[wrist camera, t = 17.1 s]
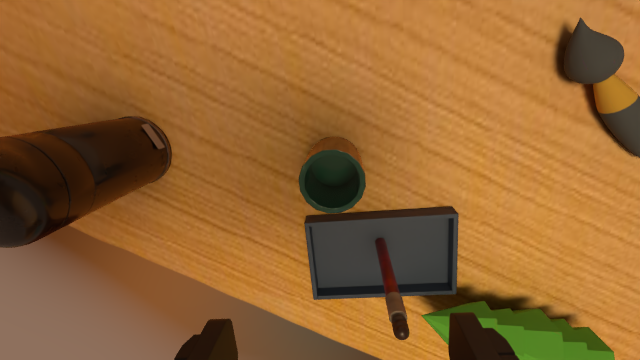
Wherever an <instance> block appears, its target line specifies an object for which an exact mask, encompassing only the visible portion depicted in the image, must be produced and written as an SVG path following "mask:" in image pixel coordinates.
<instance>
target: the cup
mask: <svg viewBox="0 0 640 360" xmlns="http://www.w3.org/2000/svg"><path fill="white" fill-rule="evenodd" d="M299 186H300V192H301V193H302V195H303V197H304V199H305V200H306V202H307V203H308V204H310V205H311V206H312V207H313V208H315V209H316V210H319V211H322V212H325V213H341V212H344V211H346V210H348V209H350V208H352V207H353V206H354V205H355V204H356V203H357V202H358V201H359V200H360V199H361V198H362V195H363V192H364V190H365V187H366V183H365V172H364V168H363V164H362V160H361V156H360V154H359V152H358V150H357V148H356V147H355V146H354V145H353V144H352V143H351V142H350V141H348V140H346V139H344V138H341V137H327V138H324V139H322V140H320V141H319V142H317V143H316V144H315V145H314V146H313V148H312V149H311V150H310V152H309V154H308V156H307V158H306V160H305V162H304V164H303V166H302V169H301V172H300V175H299Z"/></svg>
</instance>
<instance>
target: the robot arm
mask: <svg viewBox="0 0 640 360" xmlns="http://www.w3.org/2000/svg"><path fill="white" fill-rule="evenodd" d="M170 161H171V150H170V146H169V143H168V141H167V138H166V137H165V135H164V134H163V132H162V131H161V130H160V129H159V128H158V127H157V126H156V125H155V124H153V123H152V122H150V121H148V120H146V119H144V118H140V117H133V116H131V117H123V118H119V119H115V120H108V121H101V122H95V123H88V124H82V125H75V126H69V127H62V128H56V129H49V130H43V131H37V132H31V133H25V134H18V135H12V136H5V137H0V247H5V248H10V247H11V248H12V247H18V246H23V245H27V244H30V243H32V242H35V241H37V240H39V239H41V238H43V237H45V236H47V235H49V234H51V233H52V232H54V231H56V230H58V229H60V228H62V227H64V226H66V225H68V224H70V223H72V222H74V221H76V220H78V219H80V218H82V217H84V216H85V215H87V214H89V213H91V212H93V211H95V210H97V209H99V208H101V207H103V206H105V205H107V204H109V203H111V202H113V201H115V200H117V199H119V198H121V197H123V196H125V195H127V194H129V193H131V192H133V191H135V190H137V189H139V188H141V187H143V186H145V185H147V184H148V183H152V182H154V181H156V180H158V179H159V178H161V177H162V176H163V175H164V174H165V173H166V171H167V170H168V168H169V165H170ZM449 357H450V360H520V359H519V358H518V356H517V355H515V352H514V350H513V349H512V347H511V346H510V344H509V343H508V341H507V339H505V338H504V337H503V336H502V335H501V334H499V333H498V332H497V331H496V330H495V329H493V328H483V327H482V325H481V323H480V322H479V320H478V318H477V317H476V315H475V314H474V313H473V312H464V313H451V314H450V318H449ZM174 360H238V351H237V346H236V341H235V336H234V330H233V325H232V321H231V320H230V319H210V320H209V321H208V322H207V323H206V325H205V327H204V329H203V331H202V332H201V334H200V335H193V336H192V337H191V338H190V339H189V340H188V341H187V342H186V343H185V344H184V345H182V347H181V349H180V350H179V352H178V353H177V355H176V357H175V359H174Z"/></svg>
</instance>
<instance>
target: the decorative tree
mask: <svg viewBox="0 0 640 360" xmlns="http://www.w3.org/2000/svg"><path fill="white" fill-rule="evenodd" d="M464 312H473V313H474V314H475V315H476V317H477V318H478V320H479V322H480V323H481V325H482V327H483V328H493V329H495V330H496V331H497V332H498V333H499V334H501V335H502V336H503V337H504V338H505V339H507V341H508V343H509V344H510V346H511V347H512V349H513V350H514V352H515V355H517V356H518V358H519V359H520V360H615V358H614V352H613V351H612V350H611V349H610V348H609V347H608V346H607V345H606V344H605V343H604V342H603V341H602V340H601V339H600V338H599V337H598V336H597V335H596V334H595V333H594V332H593V331H592V330H591V329H590V328H589V327H571V326H570V325H569V324H568V323H567V322H566V321H565V320H564V319H549V318H548V317H547V316H546V315H545V314H544V313H543V312H542V311H541V309H524V310H514V311H512V310H511V309H510V308H507V309H497V310H491V309H490V308H489V307H488V305H487V304H486V302H485V301H480V302H471V303H466V304H462V305H459V306H455V307H451V308H447V309H444V310H440V311H436V312H432V313H429V314H425V315H421V316H422V317H423V318H424V319H425V320H426V321H427V322H428V323H429V324H430V325H431V327H432V328H433V329H434V330H435V331H436V332H437V333H438V334H439V335H440V336H441V338H442V339H443V340H444V341H445V342H446V343H447V344H448V345H449V318H450V314H451V313H464Z"/></svg>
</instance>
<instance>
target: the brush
mask: <svg viewBox="0 0 640 360" xmlns="http://www.w3.org/2000/svg"><path fill="white" fill-rule="evenodd" d="M375 245H376V250H377V255H378V260H379V265H380V270H381V275H382V280H383V285H384V290H385V295H386V305H387V310H388V315H389V320H390V322H391V323H392V327H393V332H394V335H395V336H396V338H398V339H399V340H405V339H407V338H408V336H409V328H408V324H407V315H406V311H405V307H404V304H403V300H402V297H401V295H400V293H399V289H398V285H397V282H396V278H395V274H394V271H393V267H392V263H391V260H390V256H389V252H388V249H387V245H386V241H385V239H383V238H378V239H376V241H375Z"/></svg>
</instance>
